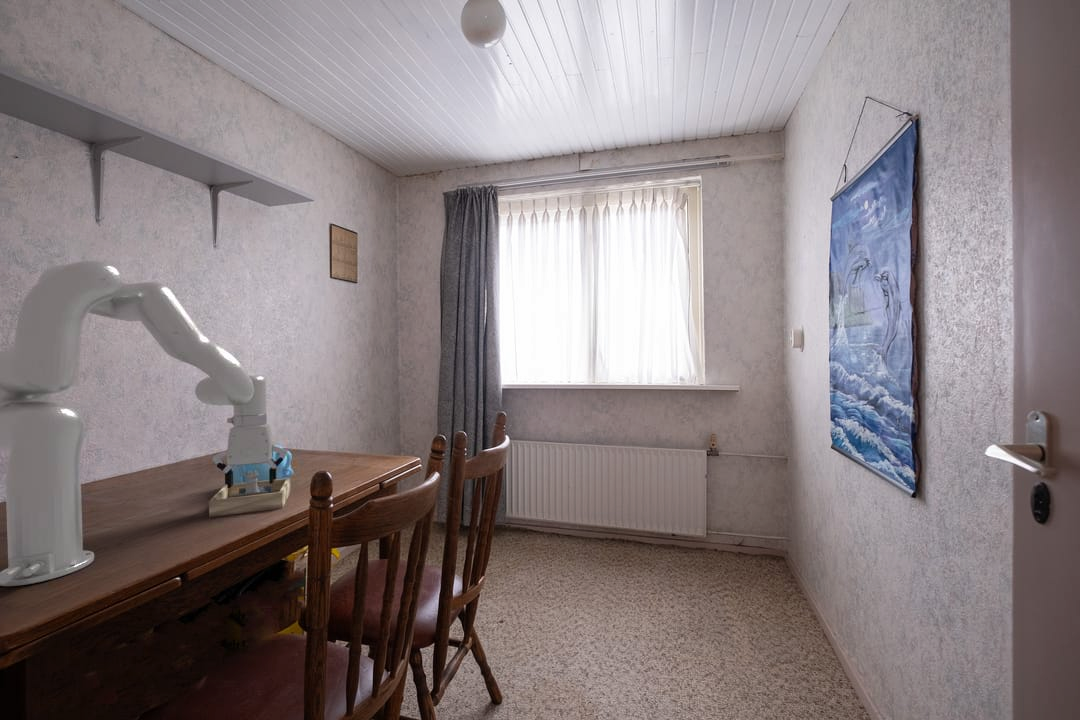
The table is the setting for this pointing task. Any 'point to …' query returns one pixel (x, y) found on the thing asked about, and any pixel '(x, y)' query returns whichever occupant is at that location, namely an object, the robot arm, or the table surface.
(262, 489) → the socket
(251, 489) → the rook chess piece
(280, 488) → the beech box
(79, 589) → the table surface
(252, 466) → the decorative pot
